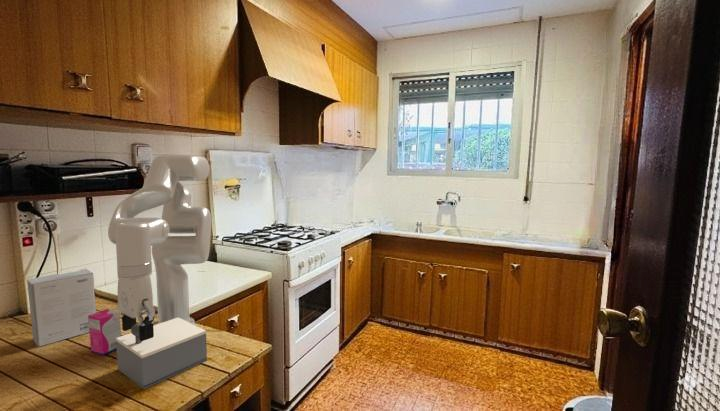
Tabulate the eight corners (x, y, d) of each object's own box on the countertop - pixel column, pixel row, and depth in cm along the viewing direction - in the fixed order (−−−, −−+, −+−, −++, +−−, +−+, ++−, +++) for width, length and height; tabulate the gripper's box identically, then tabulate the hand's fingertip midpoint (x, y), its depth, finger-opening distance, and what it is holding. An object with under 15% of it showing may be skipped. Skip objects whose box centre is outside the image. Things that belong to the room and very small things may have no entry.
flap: (116, 340, 97) (114, 319, 97) (178, 319, 111) (177, 301, 111) (142, 358, 89) (140, 335, 88) (206, 333, 103) (205, 312, 102)
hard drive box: (91, 324, 126) (87, 268, 124) (98, 330, 121) (94, 272, 119) (31, 339, 114) (26, 278, 112) (36, 347, 109) (31, 283, 107)
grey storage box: (117, 369, 98) (116, 341, 97) (179, 344, 112) (178, 320, 111) (143, 389, 90) (142, 358, 89) (206, 360, 103) (206, 333, 103)
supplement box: (109, 343, 112) (107, 307, 111) (122, 347, 110) (120, 311, 109) (89, 352, 107) (87, 314, 106) (102, 356, 105) (100, 318, 104)
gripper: (104, 267, 95) (107, 330, 97) (134, 279, 85) (137, 349, 87) (135, 261, 101) (138, 321, 103) (166, 272, 91) (169, 337, 93)
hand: (137, 333), depth 95 cm, fingers open, 9 cm apart
